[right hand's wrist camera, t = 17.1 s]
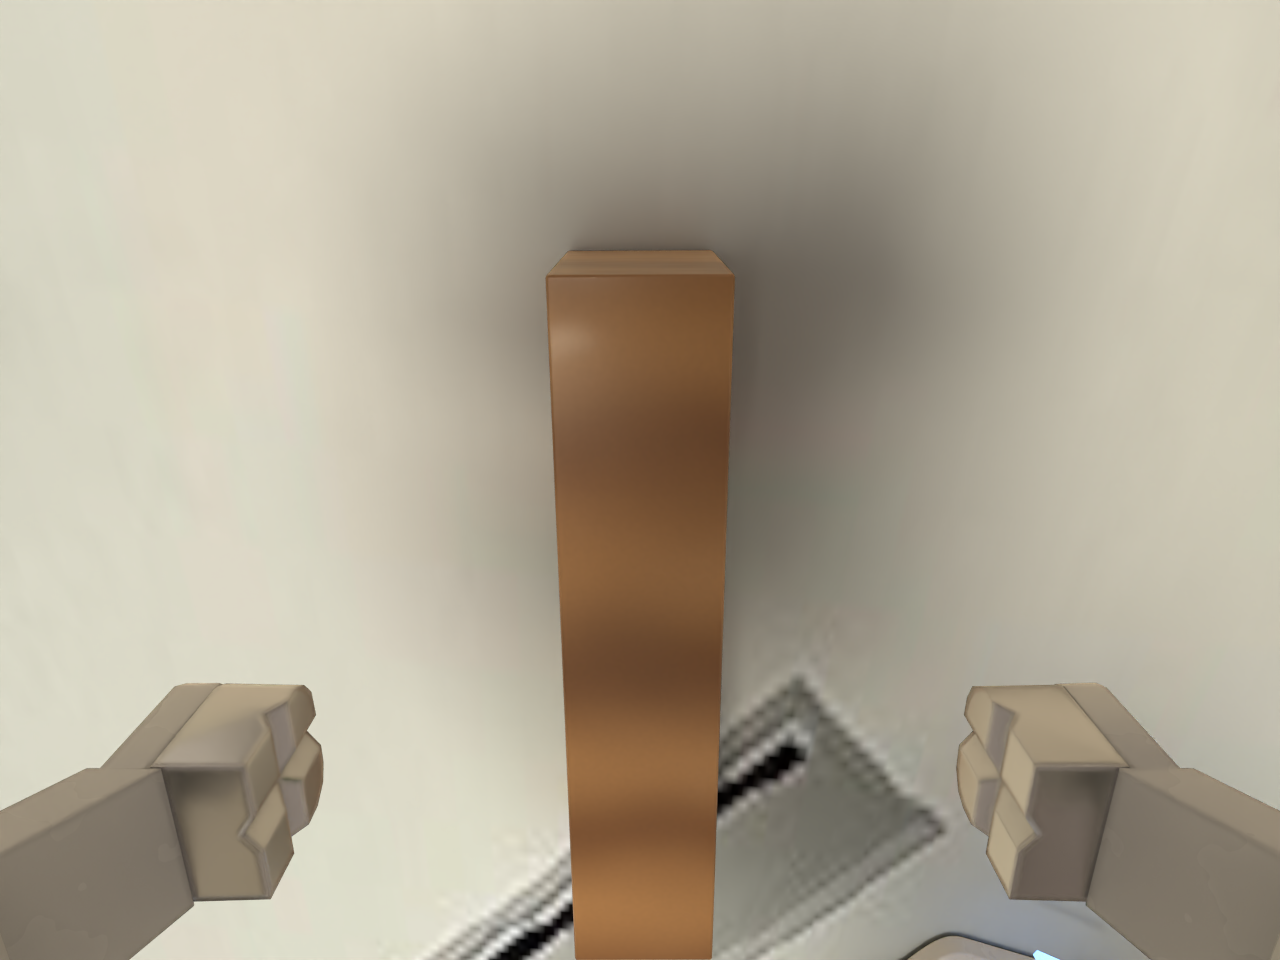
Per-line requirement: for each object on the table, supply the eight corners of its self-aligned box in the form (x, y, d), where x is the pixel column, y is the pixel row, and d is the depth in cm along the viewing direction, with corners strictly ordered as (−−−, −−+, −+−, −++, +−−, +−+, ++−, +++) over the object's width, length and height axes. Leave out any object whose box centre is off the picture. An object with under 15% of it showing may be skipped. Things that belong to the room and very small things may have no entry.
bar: (567, 250, 31) (545, 275, 24) (713, 249, 31) (735, 274, 24) (586, 818, 41) (575, 961, 33) (699, 818, 41) (712, 960, 33)
